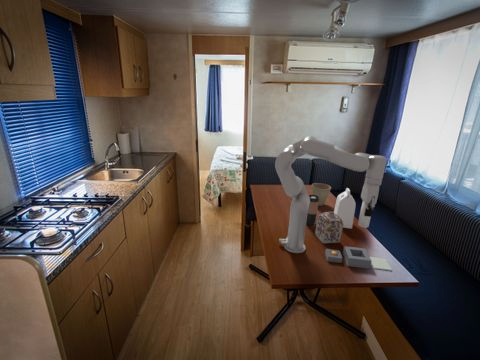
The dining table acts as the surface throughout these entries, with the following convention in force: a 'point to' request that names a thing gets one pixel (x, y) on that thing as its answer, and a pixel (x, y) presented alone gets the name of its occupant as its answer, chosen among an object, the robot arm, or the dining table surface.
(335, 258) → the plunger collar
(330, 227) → the decorative jar
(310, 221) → the travel mug
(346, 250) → the grey square holder
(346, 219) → the milk
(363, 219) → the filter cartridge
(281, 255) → the dining table surface
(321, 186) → the plant pot
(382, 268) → the mat
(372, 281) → the dining table surface
